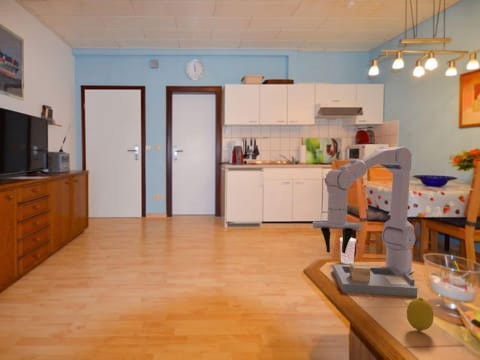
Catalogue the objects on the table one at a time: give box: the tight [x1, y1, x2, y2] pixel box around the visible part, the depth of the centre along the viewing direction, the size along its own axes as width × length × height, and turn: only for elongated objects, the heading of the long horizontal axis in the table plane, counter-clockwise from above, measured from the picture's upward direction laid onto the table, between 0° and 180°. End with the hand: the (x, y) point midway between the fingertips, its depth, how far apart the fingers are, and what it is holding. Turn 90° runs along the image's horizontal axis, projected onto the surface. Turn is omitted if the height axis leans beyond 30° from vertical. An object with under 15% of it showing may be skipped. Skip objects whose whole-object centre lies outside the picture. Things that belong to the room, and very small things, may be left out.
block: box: [349, 262, 370, 282], centre depth 112 cm, size 5×5×4 cm
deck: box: [332, 263, 418, 297], centre depth 116 cm, size 20×21×4 cm
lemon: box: [406, 296, 434, 333], centre depth 84 cm, size 6×6×8 cm
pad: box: [385, 276, 411, 285], centre depth 111 cm, size 7×6×1 cm
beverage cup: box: [339, 236, 357, 265], centre depth 138 cm, size 6×6×14 cm
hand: (335, 252), depth 113 cm, fingers open, 4 cm apart
